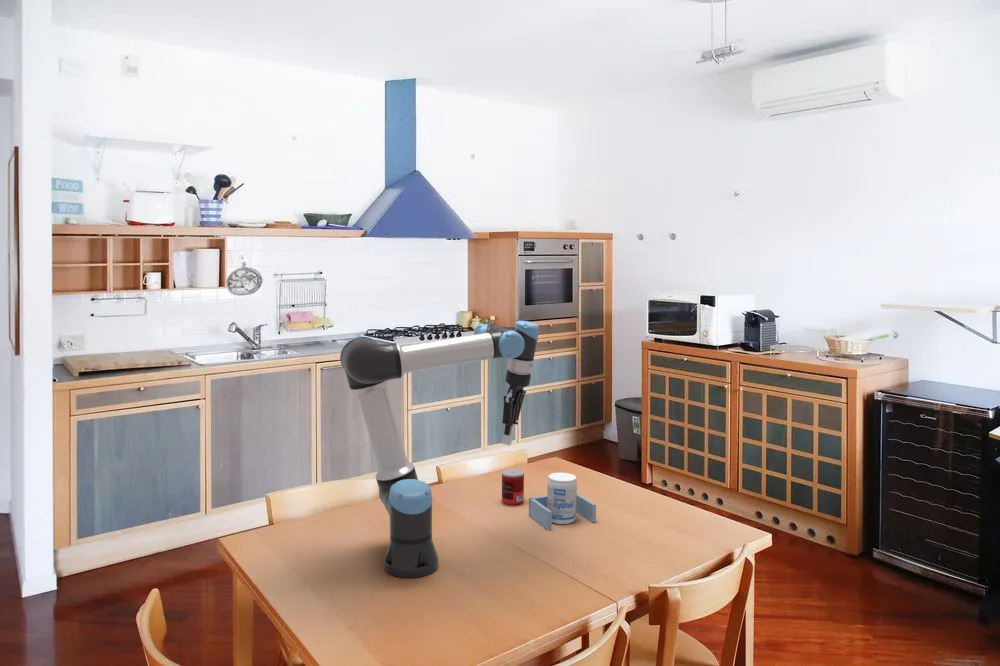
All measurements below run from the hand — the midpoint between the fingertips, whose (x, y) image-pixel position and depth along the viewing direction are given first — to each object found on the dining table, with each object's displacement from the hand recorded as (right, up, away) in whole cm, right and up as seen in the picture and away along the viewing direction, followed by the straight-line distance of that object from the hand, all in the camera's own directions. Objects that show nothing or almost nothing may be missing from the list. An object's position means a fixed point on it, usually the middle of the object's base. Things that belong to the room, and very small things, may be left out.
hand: (506, 443), depth 233 cm
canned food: (+3, -25, +29) cm, 39 cm away
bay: (+18, -27, +13) cm, 35 cm away
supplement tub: (+18, -27, +13) cm, 35 cm away
